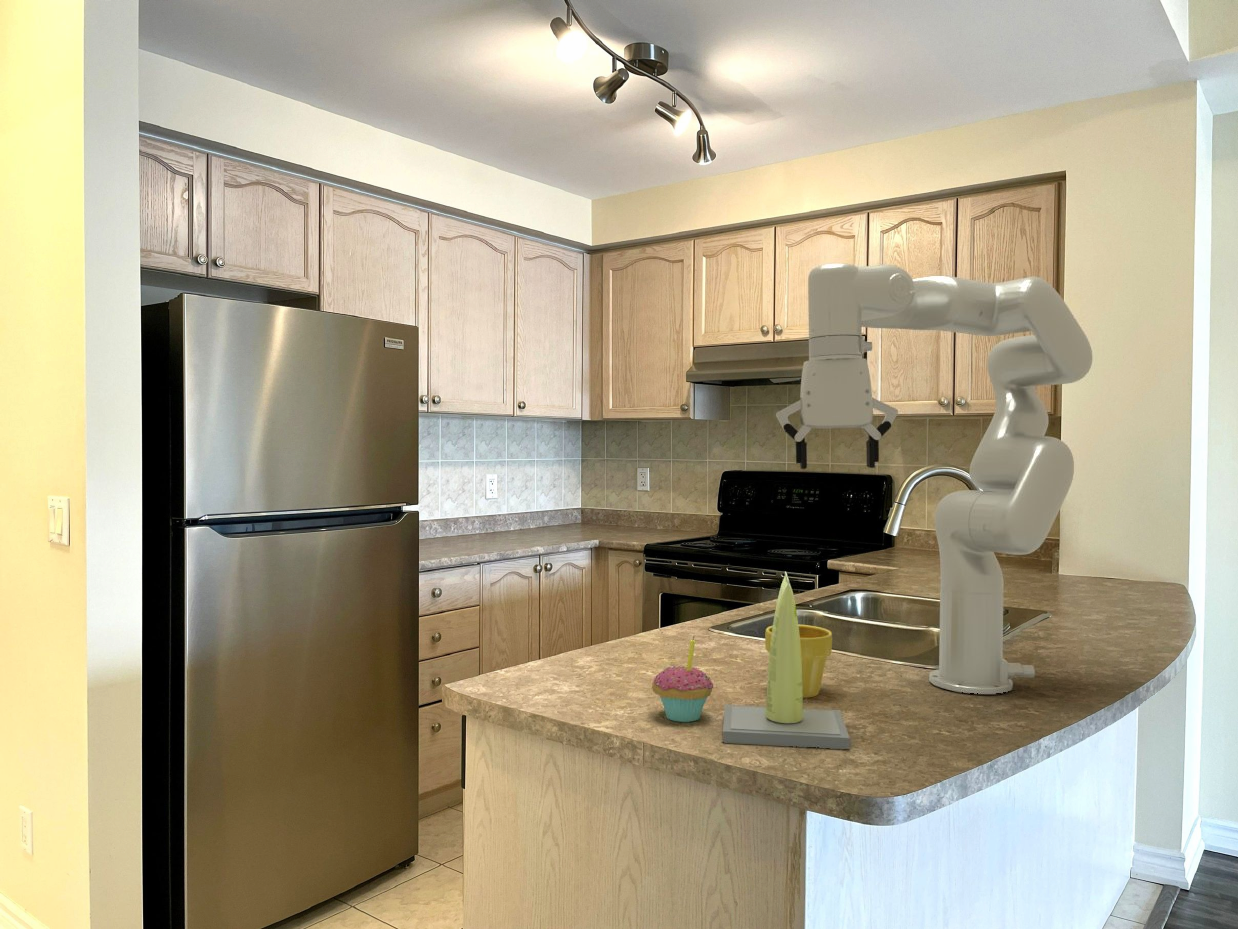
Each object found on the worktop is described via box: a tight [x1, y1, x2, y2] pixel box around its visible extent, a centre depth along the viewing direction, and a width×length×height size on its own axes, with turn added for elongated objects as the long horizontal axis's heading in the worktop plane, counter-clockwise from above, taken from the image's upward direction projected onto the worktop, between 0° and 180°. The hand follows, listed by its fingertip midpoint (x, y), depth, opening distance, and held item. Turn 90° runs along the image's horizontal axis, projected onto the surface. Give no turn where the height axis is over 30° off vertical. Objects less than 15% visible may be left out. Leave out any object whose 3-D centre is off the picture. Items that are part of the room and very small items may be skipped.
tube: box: [765, 571, 804, 724], centre depth 118 cm, size 6×5×20 cm
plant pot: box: [764, 624, 833, 699], centre depth 137 cm, size 10×10×10 cm
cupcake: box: [651, 635, 714, 723], centre depth 124 cm, size 9×8×12 cm
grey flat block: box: [722, 704, 851, 750], centre depth 118 cm, size 16×12×2 cm
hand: (837, 468), depth 128 cm, fingers open, 9 cm apart
